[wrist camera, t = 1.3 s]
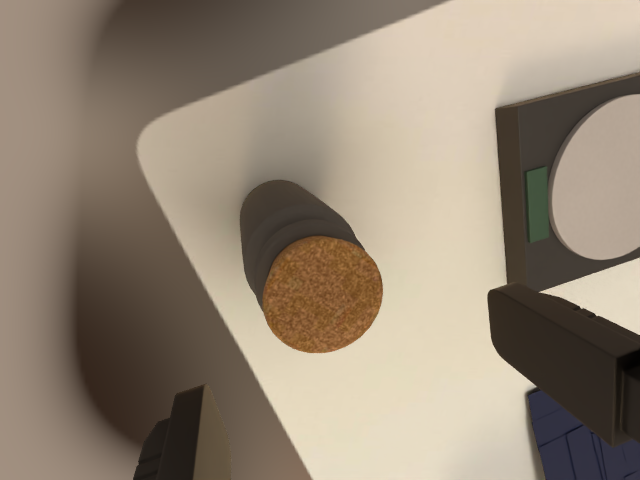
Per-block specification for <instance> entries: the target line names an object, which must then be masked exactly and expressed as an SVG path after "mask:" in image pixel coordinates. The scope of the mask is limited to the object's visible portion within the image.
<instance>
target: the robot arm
mask: <svg viewBox="0 0 640 480" xmlns="http://www.w3.org/2000/svg"><path fill="white" fill-rule="evenodd" d="M487 299H488V310H489V321H490V332H491V339H492V343H493V345H494V347H495V349H496V351H497V352H498V354H499V355H500V356H501V357H502V358H503V359H504V360H505V361H506V362H507V363H509V364H510V365H511V366H512V367H514V368H515V369H516V370H517V371H519V372H520V373H521V374H522V375H523V376H525V377H526V378H527V379H528V380H530V381H531V382H532V383H533V384H535V385H536V386H537V387H538V388H539V389H541V390H542V391H543V392H544V393H546V394H547V395H548V396H549V397H551V398H552V399H553V400H554V401H555V402H557V403H558V404H559V405H560V406H562V407H563V408H564V409H565V410H567V411H568V412H569V413H570V414H571V415H573V416H574V417H575V418H576V419H578V420H579V421H580V422H581V423H583V424H584V425H585V426H586V427H587V428H589V429H590V430H591V431H592V432H594V433H595V434H596V435H597V436H599V437H600V438H601V439H602V440H603V441H605V442H606V443H607V444H608V445H610V446H611V447H612V448H614V447H617V446H619V445H621V444H624V443H626V442H628V441H631V440H633V439H634V440H635V441H637V442H638V443H639V444H640V335H638V334H636V333H634V332H632V331H630V330H628V329H625V328H623V327H621V326H619V325H617V324H615V323H613V322H611V321H609V320H607V319H605V318H603V317H601V316H596V315H595V314H594V313H592V312H590V311H588V310H586V309H584V308H583V309H581V308H580V306H578V305H576V304H574V303H571V302H569V301H567V300H565V299H563V298H560V297H556V296H552V295H548V294H544V293H539V292H537V291H535V290H533V289H531V288H529V287H527V286H525V285H523V284H521V283H518V282H513V283H510V284H507V285H504V286H501V287H498V288H495V289H492V290H490V291H489V293H488V297H487ZM138 462H139V465H138V466H137V467H136V471H135V474H134V478H133V480H231V450H230V443H229V438H228V435H227V431H226V428H225V426H224V423H223V420H222V418H221V415H220V412H219V410H218V407H217V405H216V402H215V399H214V397H213V394H212V392H211V389H210V387H209V386H208V385H207V384H204V385H201V386H198V387H195V388H192V389H189V390H186V391H182V392H179V393H177V394H176V395H175V399H174V403H173V407H172V411H171V416H170V418H168V419H165V420H162V421H159V422H158V423H157V424H156V425H155V427H154V428H153V430H152V431H151V433H150V434H149V436H148V437H147V438H146V440H145V441H144V444H143V447H142V451H141V454H140V457H139V461H138Z"/></svg>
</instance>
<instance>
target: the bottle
mask: <svg viewBox="0 0 640 480" xmlns="http://www.w3.org/2000/svg"><path fill="white" fill-rule="evenodd" d="M240 230H241V243H242V254H243V263H244V271H245V275H246V278H247V281H248V284H249V286H250V288H251V289H252V291H253V292H254V294H255V295H256V298H257V301H258V303H259V305H260V307H261V309H262V311H263V312H264V315H265V318H266V321H267V324H268V326H269V327H270V329H271V330H272V332H273V333H274V334H275V335H276V337H277V338H279V339H280V340H281V341H282V342H283V343H285V344H286V345H288V346H290V347H292V348H293V349H296V350H299V351H303V352H307V353H326V352H332V351H335V350H338V349H341V348H343V347H346V346H348V345H349V344H351V343H353V342H354V341H356V340H357V339H358V338H360V337H361V336H362V335H363V334H364V333H365V332H366V331H367V330H368V329H369V328H370V326H371V324H372V323H373V321H374V320H375V318H376V316H377V314H378V312H379V309H380V306H381V302H382V295H383V285H382V279H381V275H380V272H379V270H378V267H377V265H376V263H375V262H374V261H373V259H372V258H371V257H370V256H369V255H368V254H367V252H365V249H364V248H363V246H362V245H361V243H360V242H359V241H358V240H357V239H356V237H355V234H354V232H353V230H352V229H351V227H350V226H349V224H348V223H347V222H346V221H345V220H344V219H343V218H342V217H341V216H340V215H339V214H338V213H336V212H335V211H334V210H333V209H331V208H330V207H329V206H327V205H326V204H325V203H323V202H322V201H321V200H319V199H318V198H316V197H315V196H314V195H312V194H311V193H309V192H308V191H306V190H305V189H303V188H302V187H300V186H299V185H297V184H294V183H292V182H289V181H283V180H275V181H269V182H266V183H263V184H261V185H260V186H258V187H257V188H255V189H254V190H253V191H252V192H251V193H250V194H249V195H248V196H247V198H246V199H245V201H244V203H243V206H242V209H241V214H240Z"/></svg>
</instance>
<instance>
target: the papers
mask: <svg viewBox="0 0 640 480" xmlns="http://www.w3.org/2000/svg"><path fill="white" fill-rule="evenodd" d="M528 399H529V404H530V410H531V415H532V420H533V422H532V425H533V429H534V433H535V437H536V442H537V446H538V450H539V452H540V456H541V460H542V464H543V468H544V473H545V477H546V480H640V444H639V443H638V442H637V441H635V440H634V439H633V440H631V441H628V442H626V443H624V444H621V445H619V446H617V447H614V448H612V447H611V446H610V445H608V444H607V443H606V442H605V441H603V440H602V439H601V438H600V437H599V436H597V435H596V434H595V433H594V432H592V431H591V430H590V429H589V428H587V427H586V426H585V425H584V424H583V423H581V422H580V421H579V420H578V419H576V418H575V417H574V416H573V415H571V414H570V413H569V412H568V411H567V410H565V409H564V408H563V407H562V406H560V405H559V404H558V403H557V402H555V401H554V400H553V399H552V398H551V397H549V396H548V395H547V394H546V393H544V392H543V391H542V390H540V391H537V392H535V393H533V394H530V395H528Z"/></svg>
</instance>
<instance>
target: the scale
mask: <svg viewBox="0 0 640 480" xmlns="http://www.w3.org/2000/svg"><path fill="white" fill-rule="evenodd" d="M496 123H497V137H498V152H499V166H500V180H501V194H502V209H503V223H504V237H505V252H506V266H507V280H508V284H510V283H513V282H518V283H521V284H523V285H525V286H527V287H529V288H531V289H533V290H535V291H537V292H540V291H543V290H546V289H549V288H552V287H555V286H558V285H561V284H564V283H566V282H569V281H572V280H575V279H578V278H581V277H584V276H587V275H590V274H593V273H596V272H599V271H602V270H604V269H607V268H610V267H613V266H616V265H619V264H622V263H625V262H628V261H631V260H634V259H637V258H640V72H639V73H635V74H631V75H627V76H623V77H619V78H615V79H611V80H607V81H603V82H599V83H595V84H591V85H587V86H583V87H579V88H575V89H571V90H567V91H563V92H559V93H555V94H551V95H547V96H543V97H539V98H535V99H531V100H527V101H523V102H519V103H515V104H511V105H507V106H503V107H499V108H496Z"/></svg>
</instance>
